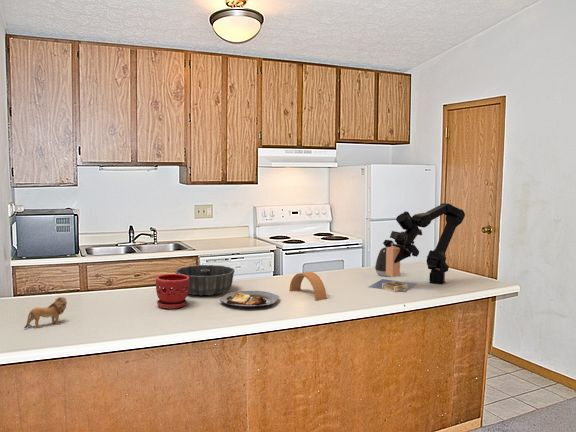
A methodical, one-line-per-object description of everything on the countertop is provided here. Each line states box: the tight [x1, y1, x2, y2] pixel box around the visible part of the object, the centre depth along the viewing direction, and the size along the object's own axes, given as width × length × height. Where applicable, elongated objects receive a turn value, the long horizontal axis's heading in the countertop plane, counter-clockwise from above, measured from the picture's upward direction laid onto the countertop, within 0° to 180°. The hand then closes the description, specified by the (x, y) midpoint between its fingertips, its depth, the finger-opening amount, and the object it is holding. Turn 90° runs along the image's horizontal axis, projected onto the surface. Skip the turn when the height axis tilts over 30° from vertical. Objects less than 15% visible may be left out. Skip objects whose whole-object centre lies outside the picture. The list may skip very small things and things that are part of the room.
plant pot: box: [155, 273, 189, 310], centre depth 200 cm, size 13×13×12 cm
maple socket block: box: [381, 280, 408, 293], centre depth 229 cm, size 8×8×2 cm
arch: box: [289, 271, 327, 302], centre depth 219 cm, size 6×20×10 cm, turn 33°
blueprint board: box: [368, 278, 418, 293], centre depth 237 cm, size 18×20×1 cm
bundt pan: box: [174, 264, 236, 297], centre depth 223 cm, size 26×26×10 cm
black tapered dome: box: [374, 246, 389, 277], centre depth 259 cm, size 10×10×15 cm
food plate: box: [219, 290, 280, 308], centre depth 207 cm, size 25×23×4 cm
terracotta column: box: [386, 246, 401, 278], centre depth 229 cm, size 4×4×14 cm
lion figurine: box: [23, 296, 68, 329], centre depth 174 cm, size 15×5×9 cm, turn 139°
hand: (390, 261), depth 228 cm, fingers closed on terracotta column, 4 cm apart
